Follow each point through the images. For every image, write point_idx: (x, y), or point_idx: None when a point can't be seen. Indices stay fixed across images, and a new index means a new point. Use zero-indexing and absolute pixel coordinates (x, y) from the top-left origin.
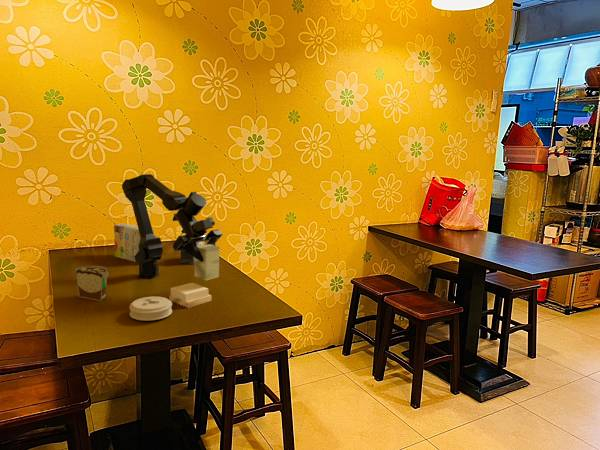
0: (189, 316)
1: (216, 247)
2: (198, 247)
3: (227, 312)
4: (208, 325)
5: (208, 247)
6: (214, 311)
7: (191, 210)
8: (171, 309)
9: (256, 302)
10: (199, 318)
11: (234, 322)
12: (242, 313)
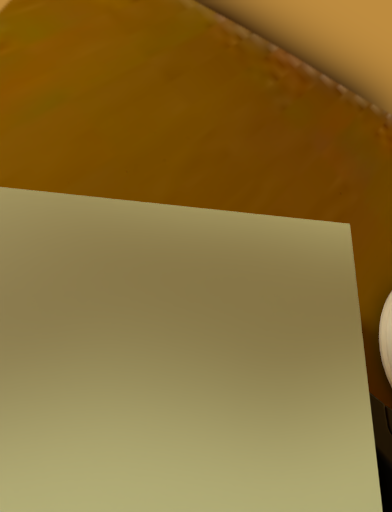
0: (350, 224)
1: (74, 197)
2: (376, 487)
3: (228, 139)
4: (346, 125)
5: (212, 318)
6: (255, 184)
7: None
8: (387, 307)
9: (54, 105)
10: (335, 184)
11: (273, 73)
12: (196, 91)
